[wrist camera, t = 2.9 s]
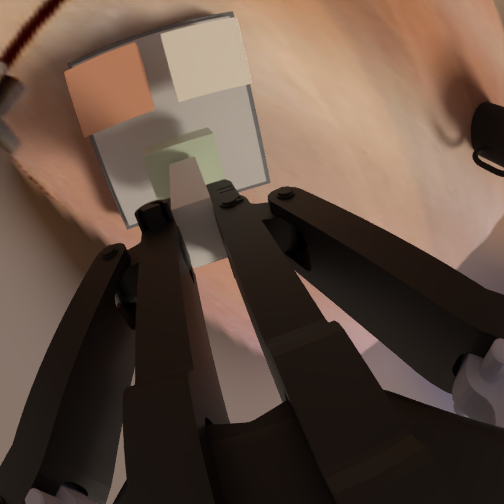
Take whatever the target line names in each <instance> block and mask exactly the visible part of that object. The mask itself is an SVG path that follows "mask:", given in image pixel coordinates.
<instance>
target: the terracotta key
mask: <svg viewBox="0 0 504 504" xmlns="http://www.w3.org/2000/svg"><path fill="white" fill-rule="evenodd" d="M64 75H65V78H66V82H67V86H68V89H69V92H70V96H71V99H72V102H73V106H74V109H75V112H76V115H77V118H78V121H79V124H80V127H81V130H82V133H83V136H84V138H86V137H88V136H90V135H92V134H95V133H97V132H99V131H101V130H104V129H106V128H109V127H111V126H113V125H116V124H118V123H121V122H124V121H126V120H129V119H131V118H134V117H137V116H139V115H142V114H145V113H148V112H151V111H154V109H155V104H154V100H153V97H152V93H151V90H150V86H149V83H148V79H147V75H146V72H145V68H144V64H143V61H142V57H141V53H140V49H139V47H138V46H137V44H136V43H135V42H134V43H131V44H128V45H125V46H123V47H120V48H117V49H115V50H112V51H110V52H107V53H105V54H102V55H100V56H98V57H95V58H93V59H91V60H88V61H86V62H84V63H82V64H80V65H78V66H75V67H73V68H71V69H69V70H67V71H65V72H64Z"/></svg>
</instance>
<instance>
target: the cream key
mask: <svg viewBox="0 0 504 504" xmlns="http://www.w3.org/2000/svg"><path fill="white" fill-rule="evenodd" d="M160 35H161V41H162V45H163V49H164V53H165V57H166V61H167V64H168V68H169V72H170V76H171V79H172V83H173V87H174V90H175V94H176V98H177V101H178V102H181V101H185V100H188V99H192V98H195V97H199V96H202V95H206V94H210V93H214V92H218V91H222V90H226V89H230V88H234V87H239V86H243V85H248V84H252V79H251V75H250V70H249V66H248V61H247V57H246V53H245V48H244V44H243V40H242V36H241V31H240V27H239V23H238V19H237V17H233V18H227V19H221V20H216V21H211V22H206V23H201V24H197V25H192V26H188V27H184V28H180V29H176V30H172V31H169V32H165V33H162V34H160Z"/></svg>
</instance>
